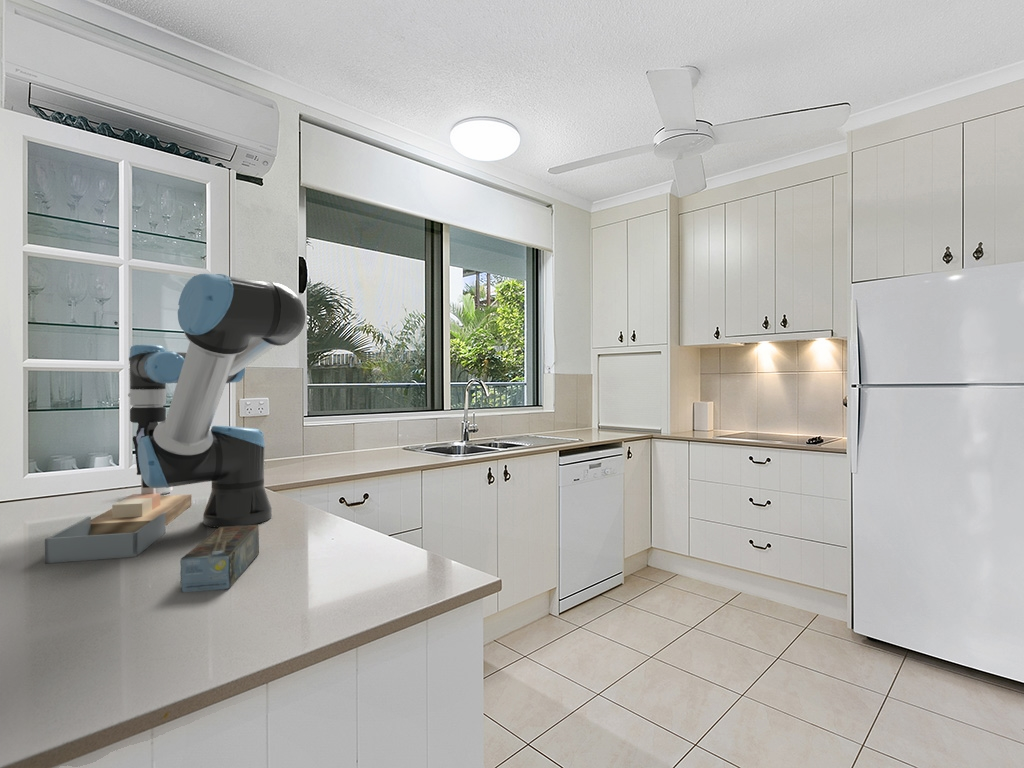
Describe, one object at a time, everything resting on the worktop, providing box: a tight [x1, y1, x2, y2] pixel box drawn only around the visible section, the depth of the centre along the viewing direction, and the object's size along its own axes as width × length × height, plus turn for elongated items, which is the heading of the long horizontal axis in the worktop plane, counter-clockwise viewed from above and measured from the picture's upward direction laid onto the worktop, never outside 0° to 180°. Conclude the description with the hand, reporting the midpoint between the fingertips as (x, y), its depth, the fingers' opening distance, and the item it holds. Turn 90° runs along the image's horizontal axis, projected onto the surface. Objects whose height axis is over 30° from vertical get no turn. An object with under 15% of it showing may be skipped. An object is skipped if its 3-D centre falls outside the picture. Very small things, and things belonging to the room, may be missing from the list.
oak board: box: [91, 494, 192, 535], centre depth 134 cm, size 14×28×3 cm, turn 16°
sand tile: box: [111, 498, 152, 518], centre depth 128 cm, size 6×6×3 cm
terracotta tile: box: [123, 493, 161, 510], centre depth 134 cm, size 6×6×3 cm
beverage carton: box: [179, 523, 260, 593], centre depth 99 cm, size 8×19×7 cm, turn 11°
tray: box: [44, 513, 166, 564], centre depth 113 cm, size 15×17×5 cm
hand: (148, 499), depth 137 cm, fingers closed
